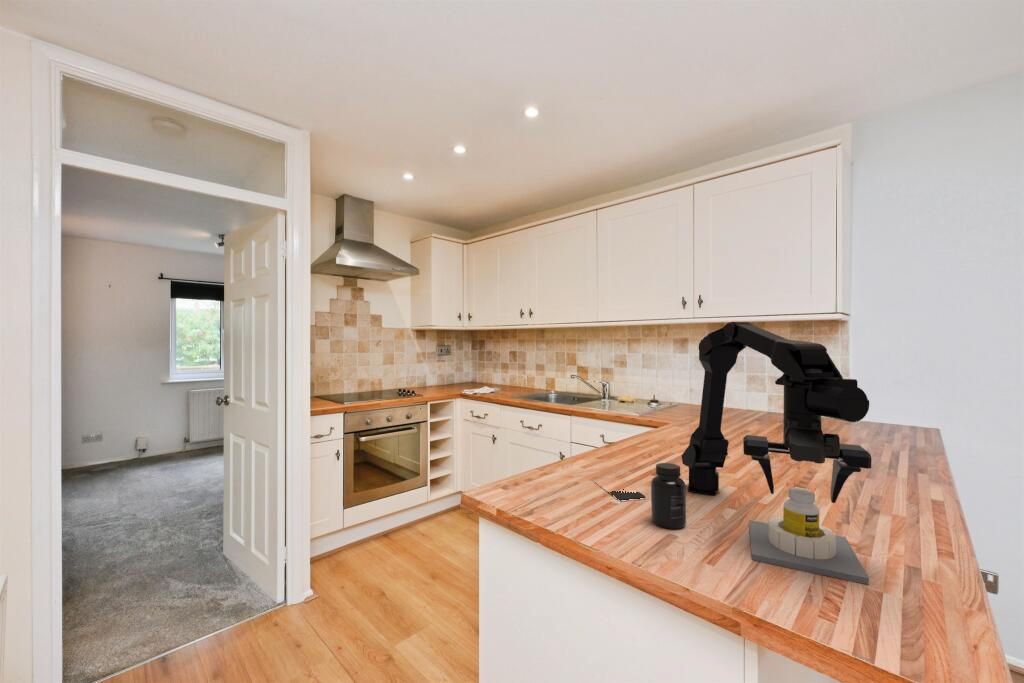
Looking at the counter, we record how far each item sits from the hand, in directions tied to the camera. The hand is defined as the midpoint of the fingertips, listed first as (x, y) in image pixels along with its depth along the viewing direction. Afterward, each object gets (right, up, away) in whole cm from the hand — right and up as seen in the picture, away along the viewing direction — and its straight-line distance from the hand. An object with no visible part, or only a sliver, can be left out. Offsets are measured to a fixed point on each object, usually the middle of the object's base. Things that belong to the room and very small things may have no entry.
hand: (801, 497), depth 77 cm
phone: (-25, -10, +32) cm, 42 cm away
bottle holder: (0, -10, 0) cm, 10 cm away
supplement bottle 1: (-20, -10, +12) cm, 25 cm away
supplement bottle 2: (0, -9, 0) cm, 9 cm away
